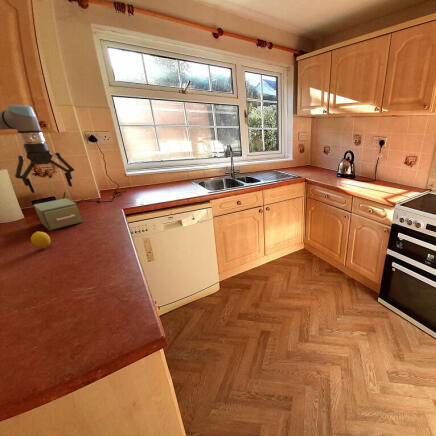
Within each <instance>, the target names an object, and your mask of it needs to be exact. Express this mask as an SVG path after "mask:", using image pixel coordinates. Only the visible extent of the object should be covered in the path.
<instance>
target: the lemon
mask: <svg viewBox="0 0 436 436" xmlns="http://www.w3.org/2000/svg"><path fill="white" fill-rule="evenodd" d="M30 241H31V244H32V245H33V246H34V247H35V248H38V249H47V247H48V246H49V245H50V244H51V237H50V236H49V234H48V233H46V232H44V231H39V230H38V231H35V232H34V233H32V235H31V236H30Z"/></svg>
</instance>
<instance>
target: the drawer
mask: <svg viewBox="0 0 436 436" xmlns="http://www.w3.org/2000/svg"><path fill="white" fill-rule="evenodd" d="M77 207H78V206H77ZM77 207H76V206H69V207H65V208H60V209H55V210H51V211H46V212H44V215H45V217H46V219H47V222H48V224H49V226H50V229H54V230H56V229H55V228H58V229H60V228H59V227H62V228H64V227H63V226H66V227H68V226H67V225H70V226H72V225H71V224H74V223H77V224H79V223H78V222H81V223H83V222H82V221H83V219H82V220H81V218H82V216H81V217H80V215H81V214H80V215H79V213H80V211H79V212H78V210H79V208H78V209H77ZM74 225H75V224H74Z"/></svg>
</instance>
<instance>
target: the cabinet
mask: <svg viewBox="0 0 436 436" xmlns="http://www.w3.org/2000/svg"><path fill="white" fill-rule="evenodd" d="M69 206H76V207H77V209H78V212H79V215H80V217H81V220H82V222H78V223H74V225H78V224H81V223H83V217H82V216H81V213H80V211H79V208H78V204H77V203H76V202H74V201H72V200H70V199H69V198H66V197H65V198H64V199H63V198H61V199H54V200H50V201H45V202H40V203H35V204H33V207H34V210H35V212H36V214H37V216H38V219H39V220H40V223H41V225H43V226H44V227H45V229H47V230H48V231H54V230H58V229H62V228H65V227H69V226H74V225H73V224H71V225H67V226H63V227H59V228H55V229H50V226H49V224H48V222H47V219H46V217H45V215H44V212H46V211H51V210H55V209H60V208H65V207H69Z"/></svg>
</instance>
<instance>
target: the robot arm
mask: <svg viewBox="0 0 436 436" xmlns="http://www.w3.org/2000/svg"><path fill="white" fill-rule="evenodd" d="M6 107H7V110H6V109H5V110H0V130H2V131H3V130H16V131H17V134H18V136H19V138H20V141H21V143H23V149H24V151H25V153H26V155H17V160H18V161H17V165H16V169H15V173H14V178H16V179H20V180H22V182H23V185H24V186H25V187H28V189H29V190H30V192H31V194H35V193H36V192H35V190H34V187H33V185H32V182H31V180H30V178H29V177H28V176H29V174H30V173H31V171H32V170H33V168H34V167H35V166H36V165H49V164H51V165H53V166H55V167H56V168H58V169H59V170H61V171H64V177H65V179H66V182H67V185H68V187H73V184H72V181H71V180H73V177H72V174H71V173H72V172H74V171H75V169H74V168H73V167H72V166H71V165H70V164H69V163H68V162H67V161H66V160H65V159H64V158H63V157H62V156H61V154H60V153H59V152H54V153H51V152H50V150H49V147H48V144H47V143H46V139H45V136H44V134H43V132H42V130H41V127H40V124H39V121H38V118H37V115H36V113H35V111H34V108H33V107H32V106H31V105H26V104H7V106H6ZM53 157H54V158H56V159H58V161H60V163H62V165H60V164H59V163H57V162H56V161H54V160H52V159H53ZM26 159H27V160H29V161H30V162H29V164H28V165H27V167H26V168H25V169H24V171H23V172H22V170H23V166H24V162H25V161H26ZM63 165H64V166H65V167H64V166H63ZM21 174H22V175H21Z"/></svg>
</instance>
